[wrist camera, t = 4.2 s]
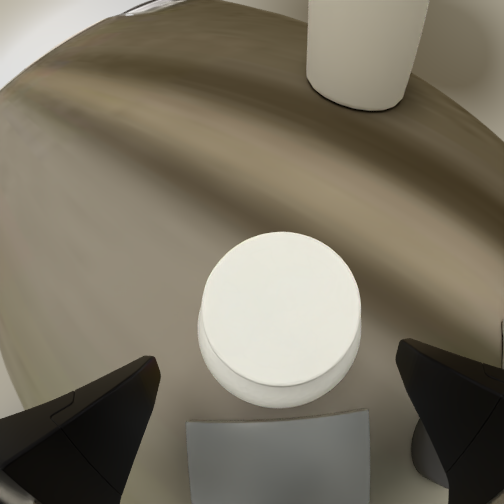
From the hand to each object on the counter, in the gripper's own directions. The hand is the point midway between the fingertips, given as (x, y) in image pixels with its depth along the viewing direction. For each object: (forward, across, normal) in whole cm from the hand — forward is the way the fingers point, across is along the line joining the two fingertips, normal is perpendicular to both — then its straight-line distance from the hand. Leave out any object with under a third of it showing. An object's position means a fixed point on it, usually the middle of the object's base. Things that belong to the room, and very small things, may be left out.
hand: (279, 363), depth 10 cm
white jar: (+30, +12, +14) cm, 35 cm away
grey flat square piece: (0, 0, -14) cm, 14 cm away
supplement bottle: (+8, 0, -6) cm, 11 cm away
